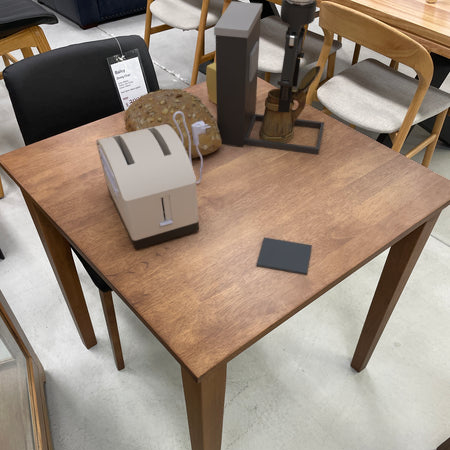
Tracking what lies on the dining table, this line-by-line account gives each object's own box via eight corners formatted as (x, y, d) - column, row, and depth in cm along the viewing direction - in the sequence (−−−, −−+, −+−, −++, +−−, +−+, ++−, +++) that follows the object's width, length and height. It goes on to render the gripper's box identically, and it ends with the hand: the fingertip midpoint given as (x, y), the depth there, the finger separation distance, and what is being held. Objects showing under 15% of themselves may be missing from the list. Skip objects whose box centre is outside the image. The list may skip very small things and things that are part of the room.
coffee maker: (324, 124, 121) (345, 10, 99) (317, 157, 110) (339, 38, 89) (230, 113, 125) (231, 1, 103) (216, 144, 114) (214, 27, 93)
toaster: (105, 190, 102) (86, 120, 88) (204, 165, 108) (200, 95, 95) (134, 255, 89) (117, 183, 75) (244, 221, 95) (248, 150, 82)
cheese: (232, 89, 134) (232, 54, 126) (257, 102, 128) (258, 66, 121) (206, 100, 129) (205, 65, 121) (231, 114, 124) (231, 78, 116)
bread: (119, 130, 119) (110, 85, 109) (191, 112, 125) (188, 68, 116) (151, 177, 105) (144, 131, 96) (230, 154, 111) (230, 109, 102)
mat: (311, 247, 90) (311, 245, 90) (306, 275, 85) (307, 272, 85) (263, 239, 91) (263, 237, 91) (256, 266, 87) (256, 264, 86)
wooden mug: (310, 146, 114) (322, 74, 100) (258, 143, 114) (263, 72, 100) (308, 128, 119) (320, 58, 105) (259, 126, 120) (263, 56, 106)
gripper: (290, -21, 101) (280, 74, 117) (272, 18, 85) (263, 121, 102) (323, -18, 100) (308, 77, 116) (310, 22, 84) (295, 125, 101)
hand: (287, 98), depth 109 cm, fingers open, 13 cm apart
